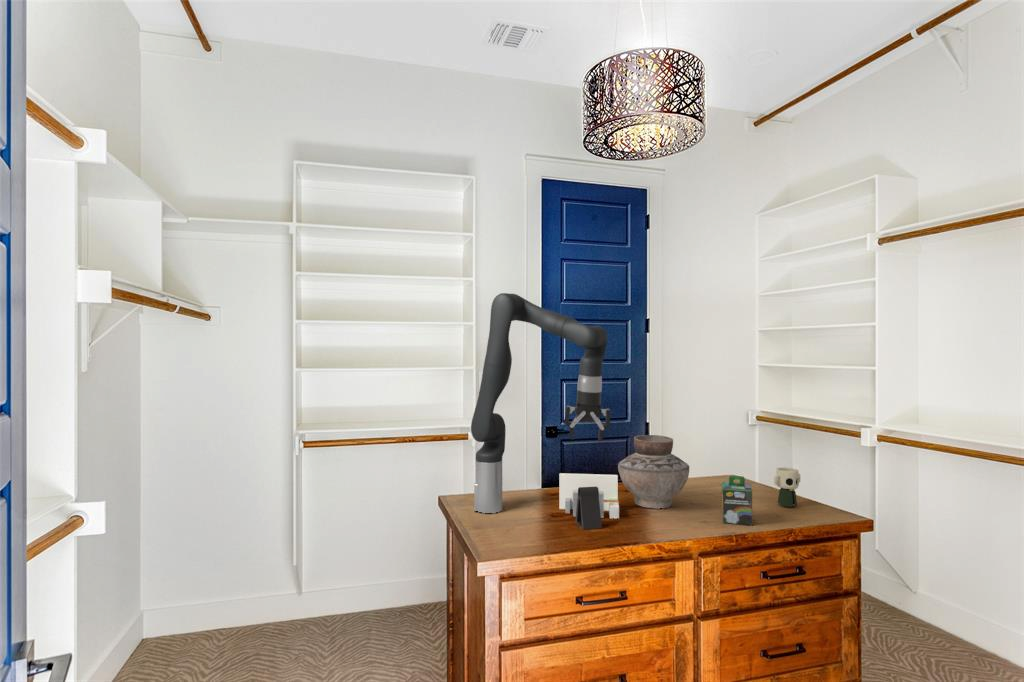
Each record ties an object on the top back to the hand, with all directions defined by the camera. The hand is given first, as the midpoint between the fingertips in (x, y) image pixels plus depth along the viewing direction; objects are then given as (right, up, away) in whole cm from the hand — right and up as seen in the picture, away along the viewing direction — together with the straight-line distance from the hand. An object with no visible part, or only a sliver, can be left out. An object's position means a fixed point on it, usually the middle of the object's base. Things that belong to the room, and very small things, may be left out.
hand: (586, 439), depth 187 cm
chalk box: (+50, -27, +6) cm, 57 cm away
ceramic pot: (+27, -27, +25) cm, 46 cm away
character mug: (+74, -27, +23) cm, 82 cm away
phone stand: (+1, -27, +1) cm, 27 cm away
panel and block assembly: (+3, -27, +15) cm, 31 cm away
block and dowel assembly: (+4, -27, +9) cm, 29 cm away
